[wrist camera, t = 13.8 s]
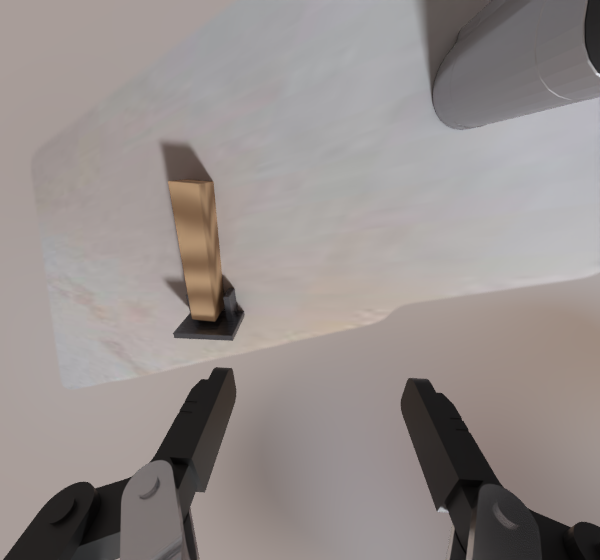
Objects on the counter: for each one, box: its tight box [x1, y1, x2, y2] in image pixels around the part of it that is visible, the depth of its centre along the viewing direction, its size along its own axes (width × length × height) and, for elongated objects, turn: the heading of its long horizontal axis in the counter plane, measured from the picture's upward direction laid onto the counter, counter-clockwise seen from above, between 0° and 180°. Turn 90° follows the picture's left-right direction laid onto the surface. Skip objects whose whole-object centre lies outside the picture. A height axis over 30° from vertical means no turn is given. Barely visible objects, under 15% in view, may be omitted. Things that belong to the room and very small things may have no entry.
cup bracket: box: [173, 288, 244, 341], centre depth 39 cm, size 6×10×7 cm, turn 89°
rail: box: [168, 179, 225, 321], centre depth 36 cm, size 22×4×5 cm, turn 176°
